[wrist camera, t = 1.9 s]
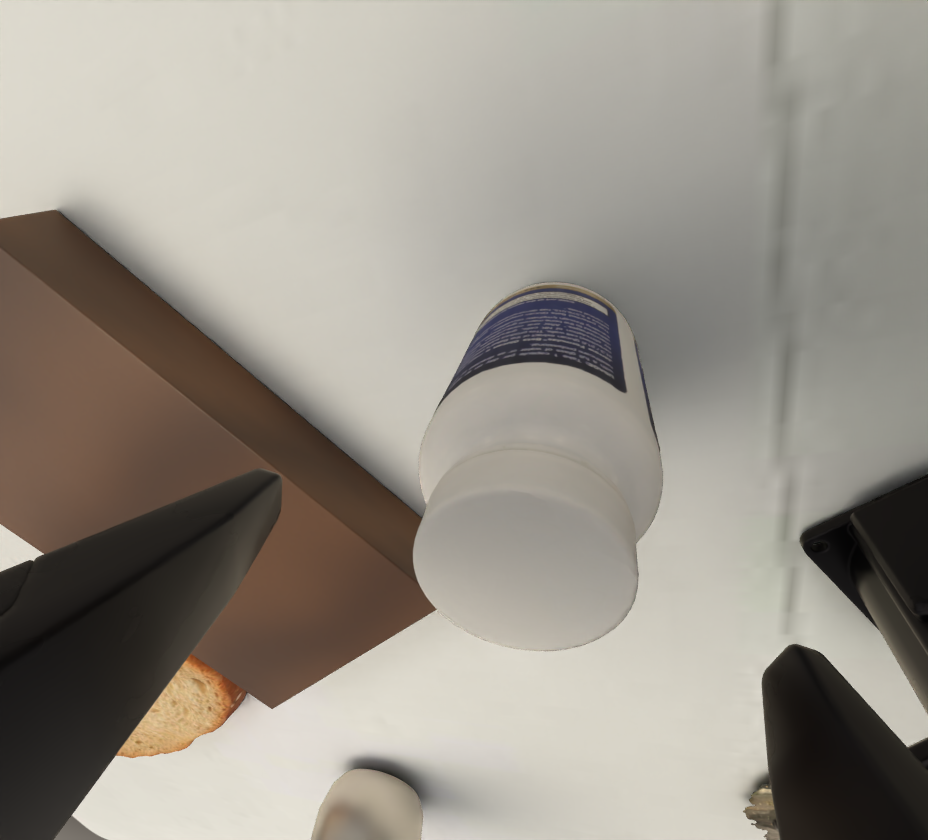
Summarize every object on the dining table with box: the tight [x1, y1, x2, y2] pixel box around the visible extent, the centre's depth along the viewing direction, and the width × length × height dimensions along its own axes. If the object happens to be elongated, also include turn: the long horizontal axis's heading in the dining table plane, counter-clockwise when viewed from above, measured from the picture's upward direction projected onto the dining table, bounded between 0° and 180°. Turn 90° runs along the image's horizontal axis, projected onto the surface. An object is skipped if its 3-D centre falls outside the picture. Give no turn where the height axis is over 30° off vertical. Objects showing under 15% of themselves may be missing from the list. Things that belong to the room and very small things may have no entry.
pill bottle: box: [413, 282, 663, 651], centre depth 13 cm, size 5×5×10 cm
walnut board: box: [0, 210, 437, 709], centre depth 23 cm, size 20×14×3 cm
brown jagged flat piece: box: [743, 783, 780, 840], centre depth 25 cm, size 7×8×2 cm
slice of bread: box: [116, 654, 246, 758], centre depth 32 cm, size 18×18×4 cm
